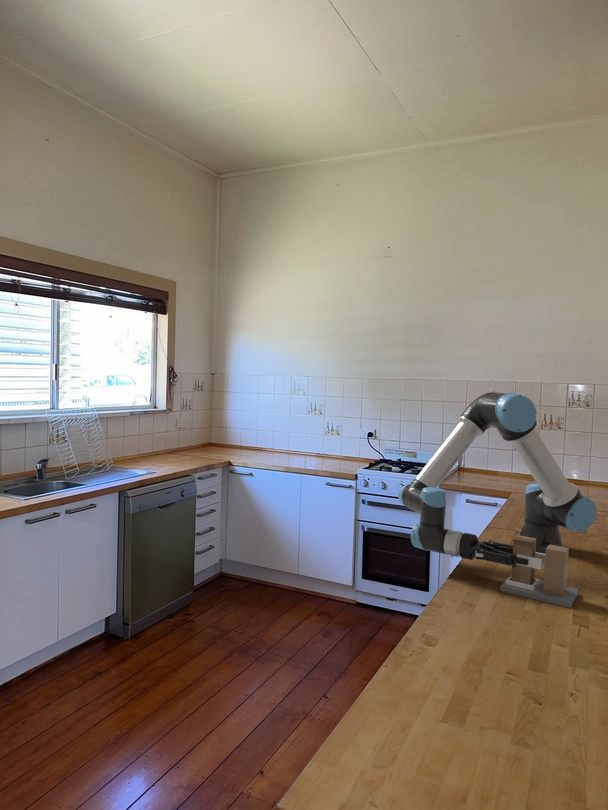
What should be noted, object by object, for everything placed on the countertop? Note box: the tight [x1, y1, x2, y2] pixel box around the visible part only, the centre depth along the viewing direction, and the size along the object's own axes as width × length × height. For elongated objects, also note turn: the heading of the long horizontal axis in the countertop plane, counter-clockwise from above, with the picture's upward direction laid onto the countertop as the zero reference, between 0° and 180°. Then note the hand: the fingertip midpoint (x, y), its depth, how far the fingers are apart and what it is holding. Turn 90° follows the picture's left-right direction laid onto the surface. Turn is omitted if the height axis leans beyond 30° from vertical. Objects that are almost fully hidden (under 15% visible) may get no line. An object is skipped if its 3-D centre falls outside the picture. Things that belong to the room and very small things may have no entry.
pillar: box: [510, 535, 536, 585], centre depth 159 cm, size 5×5×12 cm
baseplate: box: [500, 544, 579, 609], centre depth 157 cm, size 12×18×14 cm, turn 55°
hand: (543, 561), depth 156 cm, fingers closed on pillar, 5 cm apart
